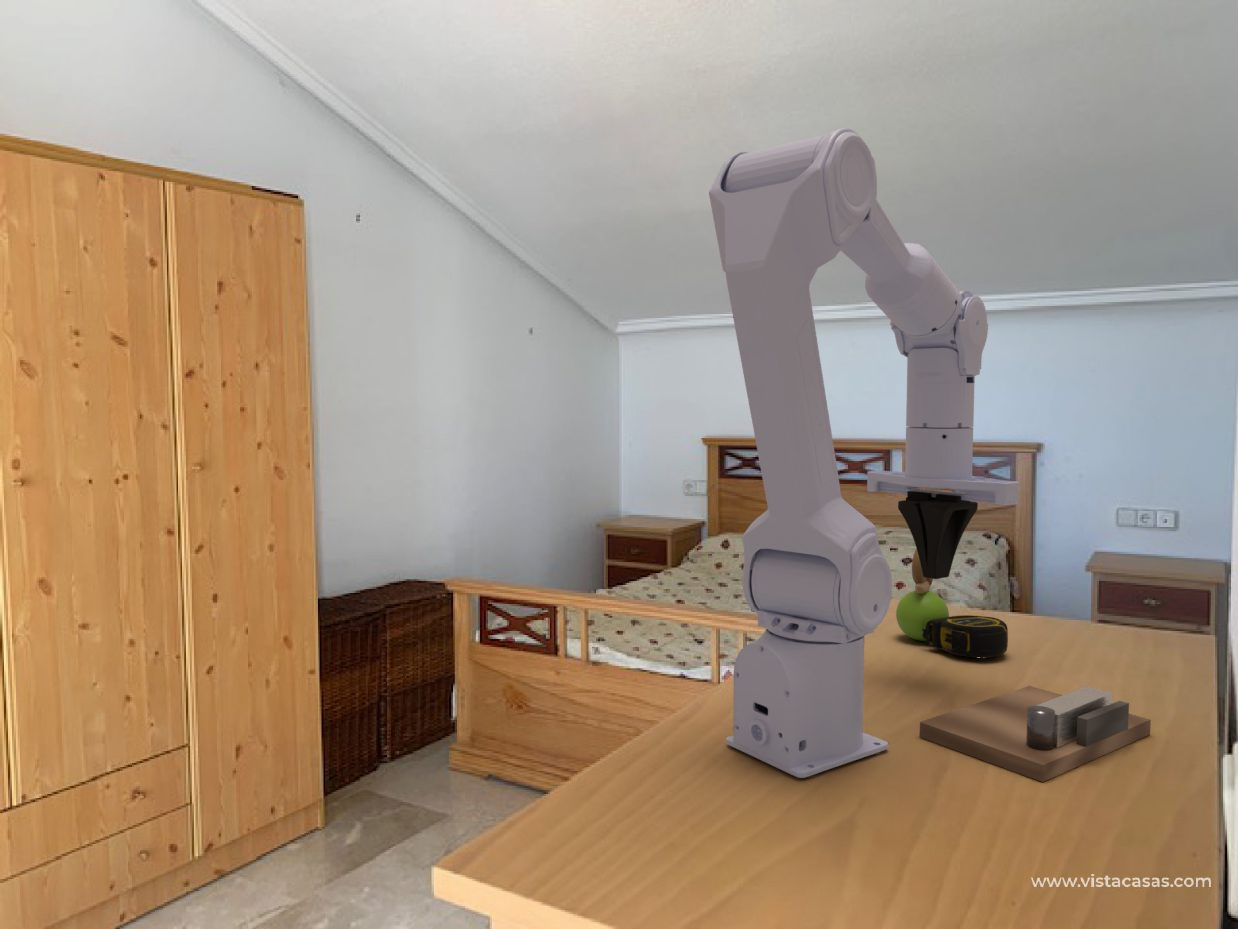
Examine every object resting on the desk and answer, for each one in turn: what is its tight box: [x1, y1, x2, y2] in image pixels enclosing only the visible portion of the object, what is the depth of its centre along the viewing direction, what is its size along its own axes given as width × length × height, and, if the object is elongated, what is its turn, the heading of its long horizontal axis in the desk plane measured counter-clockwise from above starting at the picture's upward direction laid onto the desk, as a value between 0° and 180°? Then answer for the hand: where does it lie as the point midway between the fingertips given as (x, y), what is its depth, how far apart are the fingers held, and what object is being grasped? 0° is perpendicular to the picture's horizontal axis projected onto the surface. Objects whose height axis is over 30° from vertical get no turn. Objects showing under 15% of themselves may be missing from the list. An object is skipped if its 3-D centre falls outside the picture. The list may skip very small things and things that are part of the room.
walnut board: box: [919, 685, 1152, 783], centre depth 70 cm, size 15×10×3 cm, turn 125°
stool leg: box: [1026, 685, 1113, 750], centre depth 67 cm, size 9×2×3 cm, turn 126°
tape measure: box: [922, 614, 1009, 659], centre depth 92 cm, size 7×7×4 cm
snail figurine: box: [895, 548, 950, 642], centre depth 97 cm, size 5×6×12 cm
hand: (936, 577), depth 82 cm, fingers closed
